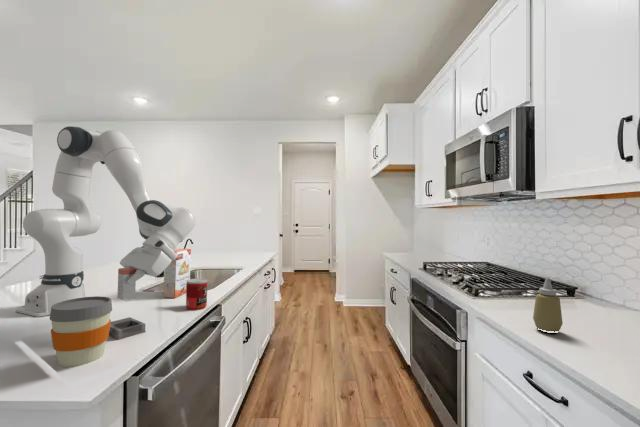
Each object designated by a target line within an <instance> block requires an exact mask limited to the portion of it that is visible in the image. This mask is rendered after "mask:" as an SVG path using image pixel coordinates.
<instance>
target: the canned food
mask: <svg viewBox="0 0 640 427" xmlns="http://www.w3.org/2000/svg"><path fill="white" fill-rule="evenodd" d="M185 295H186V296H185V298H186V299H185V306H186V309H187V310H190V311H199V310H204V309H205V308H206V307H207V305H208V302H207V301H208V279H206V278H190V280H187V284H186V293H185Z"/></svg>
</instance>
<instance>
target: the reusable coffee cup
mask: <svg viewBox="0 0 640 427" xmlns="http://www.w3.org/2000/svg"><path fill="white" fill-rule="evenodd" d="M112 304H113V302H112V298H111V297H109V296H95V295H94V296H85V297H82V298H75V299H70V300H66V301H62V302H59V303H56V304H54V305H53V306H52V307H51V313H50V315H49V320H50V321H51V329H50V336H51V342H52V348H53V350H55V355H56V359H57V365H58V366H60V367H64V368H72V367H79V366H83V365H87V364H90V363H93V362H95V361H98V360H99V359H101V358H103V357H104V353H105V349H106V342H107V340H108V339H109V330H110V324H111V322H112V319H110V317H111V312H112V311H113V305H112Z"/></svg>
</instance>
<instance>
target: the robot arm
mask: <svg viewBox="0 0 640 427" xmlns="http://www.w3.org/2000/svg"><path fill="white" fill-rule="evenodd" d="M56 142H57V147H58V149H59V150H60V153H59V155H58V158H57V161H56V166H55V169H54V176H53V181H52V187H51V188H52V190H51V191H52V193H53V194H54V196H55V197H57V198H59V199H60V200H61V201H62V202H63V208H44V209H36V210H32V211H31V210H30V211H29V212H28V213H27V214H26V215H25V216H24V218H23V221H22V228H23V229H24V230H23V231H24V232H25V233H26V234H27V235H28V236H29V237H31V238H33V239H34V240H36V242H37V243H39V245H40V246H41V248H42V251H43V253H44V265H45V267H44V268H45V272H44V274H43V275H39V280H41V282H40V284H39V285H38V286H37V287H36V288H33V290H32V291H29V293H27V294H26V295H25V300H24V305H23V306H20V307H18V308H16V309H15V312H16V313H20V314H24V315H29V316H33V317H37V318H38V317H44V316H50V313H51V307H52V306H53V305H54V304H56V303H59V302H62V301H66V300H70V299H75V298H82V297H86V292H85V284H84V283H83V281H84V278H85V274H84V271H83V252H82V250H80V248H77V247H75V246H73V245H72V243H71V241H70V240H71V239H70V238H72V237H74V238H75V237H85V236H88V235H93V234H95V233H97V232H98V231H99V229H100V228H101V226H102V225H101V224H102V221H101V216H100V215H99V214H98V213H97V212H96V211H95V210H94V209H93V207H92V204H91V202H90V201H91V200H90V189H91V181H92V174H93V167H94V165H95V164H97V163H100V164H102V165H105V167H106V168H107V170H108V171H109V173H110V174H111V176H112V177H113V179H115V181H116V182H117V183H118V185H119V186H120V188H121V190H122V191H123V192H124V194H125V195H126V196H127V199H128V200H129V201H130V203H131V206H132V208H133V211H135V213H136V214H135V216H136V221H137V223H138V230H139V235H140V236H141V237H142V238H143V239H144V241H143V242H142V246H141V247H140V246H137V247H135V248H133V249H132V250H131V251H130V252H129V253H127V254H126V255H125V256H124V257H122V259H120V261H119V264H120V265H121V266H122V268H128V267H132V268H136V273H135V274H134V275H133V276H131V277H129V278H128V279H127V280H126V282H127V283H128V284H130V285H132V284H134V282H135V281H136V282H137V281H138V280H140V279H141V278H143V277H145V275H147V276H150V277H153V278H155V277H158V276H160V275H161V274H162V273H164V270H165V269H166V268H167V267H168V265H169V264H170V263H171V261H172V260H175V259H176V258H177V256H178V255H177V254H176V253H175V252H174V250H177V246H178V245H179V244H180V243H181V242H183V241H184V240H185V239H186V237H188V235H189V234H190V233H191V232H192V230H193V229H194V228H195V225H196V218H195V217H194V215H193V214H192V212H191V211H189V209H188V208H185V207H174V206H171V205H167V204H164V203H163V202H161V201H160V200H154V199H151V198H150V196H149V194H148V192H147V191H148V190H147V187H146V180H145V171H144V167H143V166H144V165H143V163H142V160H141V158H140V155H139V154H138V152H137V150H136V148H135V147H134V145H133V144H132V142H131V141H130V140H129V138H128V137H127V136H126V135H125V134H124V133H123V132H121V131H119V130H118V131H117V130H113V129H112V130H110V129H109V130H106V131H104V132H101V131H97V130H92V129H86V128H83V127H79V126H65V127H63V128H62V129H61V130H60V131H59V132H58V135H57V139H56Z"/></svg>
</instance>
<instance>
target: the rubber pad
mask: <svg viewBox="0 0 640 427" xmlns="http://www.w3.org/2000/svg"><path fill="white" fill-rule="evenodd" d="M131 319H134V318H132V317H131V316H129V317H126V318H125V317H124V318H121V319H118V320H113V321H111V324H115V323H119V322H123V321H127V320H131ZM111 324H110V325H111Z"/></svg>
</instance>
